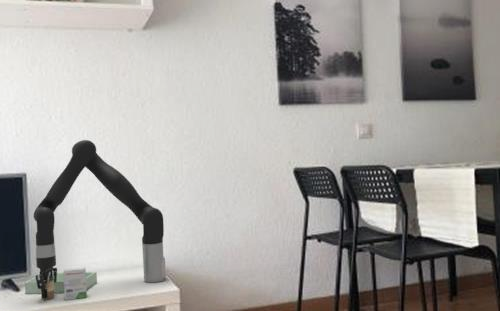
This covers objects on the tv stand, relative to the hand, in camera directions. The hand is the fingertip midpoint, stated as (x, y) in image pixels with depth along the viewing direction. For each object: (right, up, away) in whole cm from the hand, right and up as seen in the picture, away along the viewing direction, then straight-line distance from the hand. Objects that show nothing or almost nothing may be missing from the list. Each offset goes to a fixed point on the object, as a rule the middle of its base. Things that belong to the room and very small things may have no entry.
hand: (47, 295), depth 210 cm
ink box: (+12, -1, -1) cm, 12 cm away
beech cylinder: (0, -1, 0) cm, 1 cm away
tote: (0, -1, +15) cm, 15 cm away
